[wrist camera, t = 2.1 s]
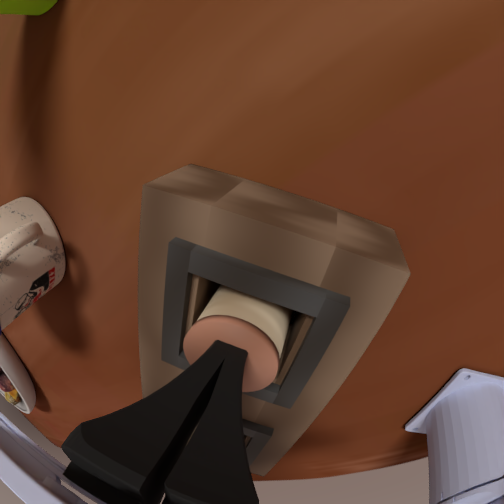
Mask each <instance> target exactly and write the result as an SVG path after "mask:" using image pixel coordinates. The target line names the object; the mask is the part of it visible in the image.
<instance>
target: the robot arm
mask: <svg viewBox="0 0 504 504" xmlns="http://www.w3.org/2000/svg"><path fill="white" fill-rule="evenodd" d="M247 356H248V352H247V350H244V349H241V348H239V347H236V346H233V345H231V344H228V343H225V342H223V341H220V340H215V341H214V342H213V344H212V345H211V346H210V347H209V348H208V349H207V350H206V351H205V352H204V353H203V355H201V356H200V357H199V358H198V359H197V360H196V361H195V362H194V363H193V364H192V365H190V366H189V367H188V368H187V369H186V370H185V371H183V372H182V373H181V374H180V375H178V376H177V377H176V378H174V379H173V380H172V381H170V382H169V383H168V384H166V385H165V386H163V387H162V388H160V389H159V390H157V391H155V392H154V393H152V394H150V395H149V396H147V397H145V398H143V399H141V400H139V401H138V402H136V403H134V404H132V405H130V406H127V407H125V408H123V409H120V410H118V411H115V412H113V413H111V414H108V415H105V416H102V417H99V418H96V419H92V420H89V421H86V422H83V423H81V424H80V425H79V426H77V427H76V428H75V429H74V430H73V431H72V432H71V433H70V435H69V436H68V437H67V439H66V440H65V442H64V443H63V444H62V446H61V447H62V450H63V451H64V453H65V454H66V455H67V456H68V458H69V459H70V460H71V462H70V464H69V465H68V467H66V466H65V465H63V464H62V463H60V462H59V461H58V460H56V459H55V458H54V457H52V456H51V455H50V454H48V453H47V452H46V451H45V450H43V449H42V448H41V447H39V446H38V445H37V444H36V443H35V442H33V441H32V440H31V439H30V438H29V437H28V436H26V435H25V434H24V433H23V432H22V431H21V430H20V429H18V428H17V427H16V426H15V425H14V424H13V423H12V422H11V421H10V420H9V419H8V418H7V417H6V416H4V414H2V413H1V412H0V479H1V480H2V481H3V482H4V483H5V484H6V485H7V486H8V487H9V488H10V489H11V490H12V491H13V492H14V493H15V494H16V495H17V496H18V497H19V498H20V499H21V500H23V502H24V503H26V504H87V503H86V502H85V501H83V500H82V499H81V498H79V497H78V496H77V495H75V494H74V493H73V492H71V491H70V490H68V489H67V488H66V487H64V486H63V485H61V481H60V479H61V480H62V481H64V482H65V483H67V484H68V485H70V486H71V487H73V488H74V489H76V490H77V491H79V492H80V493H81V494H83V495H85V496H86V497H88V498H89V499H91V500H93V501H94V502H96V503H97V504H160V502H161V500H162V497H163V495H164V493H165V498H164V500H163V502H162V504H259V499H258V497H257V494H256V491H255V487H254V484H253V480H252V476H251V472H250V468H249V463H248V458H247V453H246V448H245V440H244V432H243V421H242V384H243V374H244V367H245V362H246V358H247ZM196 426H197V427H196ZM195 428H196V429H195ZM194 430H195V431H194ZM405 430H406V431H410V432H417V433H424V434H427V444H428V459H429V504H504V378H503V377H499V376H495V375H490V374H486V373H482V372H478V371H474V370H470V369H466V368H463V369H460V370H459V371H458V372H457V373H456V374H455V375H454V376H453V377H452V378H451V379H450V381H449V382H448V383H447V384H446V385H445V386H444V387H443V388H442V389H441V390H440V391H439V393H438V394H437V395H436V396H435V397H434V398H433V399H432V400H431V401H430V402H429V403H428V404H427V405H426V406H425V407H424V408H423V409H422V410H421V411H420V412H419V413H418V414H417V415H416V416H415V417H413V418H412V419H411V420H410V421H409V422H408V423H407V424H406V425H405ZM193 431H194V433H193ZM192 433H193V434H192ZM191 435H192V436H191ZM190 437H191V438H190ZM189 439H190V440H189ZM188 441H189V442H188ZM59 478H60V479H59Z"/></svg>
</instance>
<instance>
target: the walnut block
mask: <svg viewBox="0 0 504 504" xmlns="http://www.w3.org/2000/svg"><path fill="white" fill-rule="evenodd" d="M409 276H410V271H409V268H408V265H407V263H406V260H405V257H404V254H403V252H402V249H401V247H400V244H399V241H398V239H397V236H396V234H395V231H394V229H391V228H389V227H386V226H383V225H381V224H378V223H375V222H373V221H370V220H367V219H365V218H362V217H359V216H357V215H354V214H351V213H348V212H345V211H343V210H340V209H337V208H334V207H331V206H328V205H325V204H323V203H320V202H317V201H314V200H311V199H308V198H305V197H302V196H299V195H295V194H292V193H289V192H286V191H283V190H280V189H277V188H273V187H270V186H267V185H264V184H260V183H257V182H254V181H251V180H247V179H244V178H240V177H237V176H233V175H230V174H226V173H223V172H219V171H216V170H212V169H208V168H205V167H201V166H197V165H193V164H189V165H187V166H184V167H182V168H180V169H177V170H175V171H173V172H171V173H168V174H166V175H164V176H161V177H159V178H157V179H155V180H153V181H150V182H148V183H146V184H144V185H143V190H142V202H141V215H140V232H139V255H138V331H139V354H140V370H141V383H142V394H143V398H145V397H147V396H149V395H150V394H152V393H154V392H155V391H157V390H159V389H160V388H162V387H163V386H165V385H166V384H168V383H169V382H170V381H172V380H173V379H174V378H176V377H177V376H178V375H180V374H181V373H182V372H183V371H185V370H186V369H187V368H188V367H189V366H190V364H189V362H188V360H187V358H186V356H185V353H184V349H183V342H184V338H185V336H186V334H187V333H188V331H189V330H190V328H191V327H192V325H193V324H194V323H195V322H196V321H197V320H198V318H199V317H200V315H201V314H202V312H203V311H204V309H205V308H206V306H207V305H208V303H209V302H210V300H211V299H212V297H213V296H214V294H215V293H216V291H217V290H218V288H219V287H220V285H221V284H222V285H224V286H227V287H230V288H233V289H235V290H238V291H241V292H244V293H246V294H249V295H252V296H255V297H258V298H260V299H263V300H266V301H269V302H272V303H275V304H278V305H281V306H283V307H286V308H289V309H292V310H295V311H298V312H297V314H296V317H295V319H294V321H293V324H292V326H290V325H289V328H288V332H287V335H286V339H285V342H284V346H283V349H282V353H281V356H280V363H279V367H278V371H277V374H276V377H275V379H274V380H273V382H272V383H271V384H270V385H268V386H267V387H265V388H263V389H261V390H258V391H253V392H242V421H243V432H244V440H245V448H246V453H247V458H248V463H249V468H250V472H251V473H253V474H257V475H260V476H265V475H266V474H267V473H268V472H269V471H270V470H271V468H272V467H273V466H274V465H275V464H276V463H277V462H278V461H279V460H280V459H281V458H282V457H283V456H284V455H285V453H286V452H287V451H288V450H289V449H290V448H291V447H292V446H293V444H294V443H295V442H296V441H297V440H298V439H299V438H300V436H301V435H302V434H303V433H304V432H305V431H306V429H307V428H308V427H309V426H310V425H311V423H312V422H313V421H314V420H315V418H316V417H317V416H318V415H319V413H320V412H321V411H322V410H323V408H324V407H325V406H326V405H327V403H328V402H329V401H330V399H331V398H332V397H333V395H334V394H335V393H336V391H337V390H338V389H339V387H340V386H341V385H342V383H343V382H344V380H345V379H346V378H347V376H348V375H349V373H350V372H351V371H352V369H353V368H354V366H355V365H356V363H357V362H358V361H359V359H360V358H361V356H362V355H363V353H364V352H365V350H366V349H367V347H368V346H369V344H370V342H371V341H372V339H373V338H374V336H375V335H376V333H377V331H378V330H379V328H380V327H381V325H382V323H383V322H384V320H385V318H386V317H387V315H388V313H389V312H390V310H391V308H392V307H393V305H394V303H395V301H396V300H397V298H398V296H399V294H400V292H401V291H402V289H403V287H404V285H405V283H406V282H407V280H408V278H409Z"/></svg>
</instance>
